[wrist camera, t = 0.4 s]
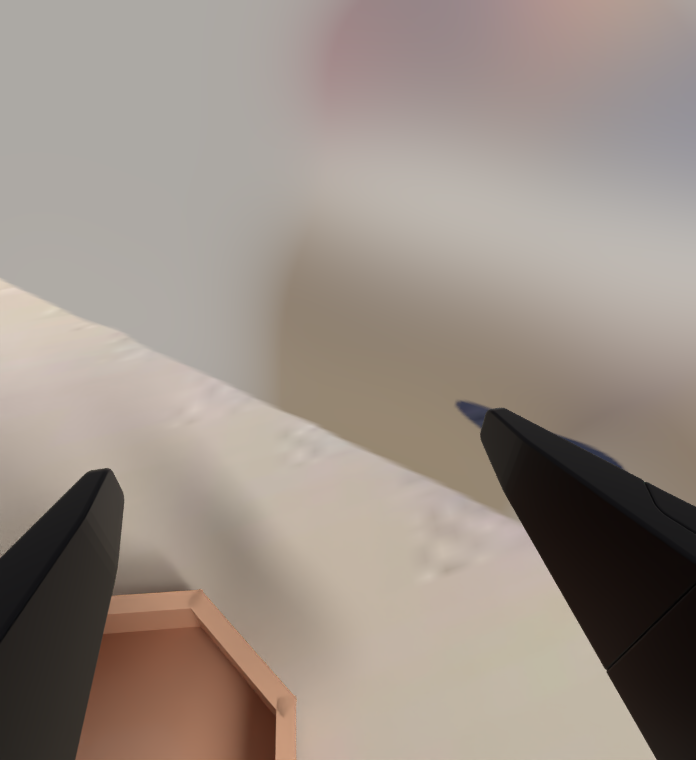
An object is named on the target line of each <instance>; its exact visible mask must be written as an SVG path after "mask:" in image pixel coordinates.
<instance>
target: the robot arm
mask: <svg viewBox="0 0 696 760" xmlns="http://www.w3.org/2000/svg"><path fill="white" fill-rule="evenodd" d="M480 437H481V441H482V443H483V446H484V448H485V450H486V453H487V455H488V457H489V460H490V462H491V464H492V467H493V469H494V471H495V473H496V476H497V478H498V480H499V482H500V485H501V487H502V489H503V491H504V493H505V495H506V497H507V498H508V500H509V502H510V504H511V505H512V507H513V509H514V510H515V512H516V514H517V516H518V517H519V519H520V521H521V523H522V525H523V526H524V528H525V530H526V532H527V533H528V535H529V537H530V539H531V540H532V542H533V544H534V546H535V547H536V549H537V551H538V553H539V554H540V556H541V558H542V560H543V561H544V563H545V565H546V567H547V568H548V570H549V572H550V574H551V575H552V577H553V579H554V581H555V582H556V584H557V586H558V588H559V589H560V591H561V593H562V595H563V596H564V598H565V600H566V602H567V603H568V605H569V607H570V609H571V610H572V612H573V614H574V616H575V617H576V619H577V621H578V623H579V624H580V626H581V628H582V630H583V631H584V633H585V635H586V637H587V638H588V640H589V642H590V644H591V645H592V647H593V649H594V651H595V652H596V654H597V656H598V657H599V659H600V661H601V663H602V664H603V666H604V668H605V669H606V670H607V674H608V675H609V677H610V679H611V681H612V682H613V684H614V686H615V688H616V689H617V691H618V693H619V695H620V696H621V698H622V700H623V702H624V703H625V705H626V707H627V709H628V710H629V712H630V714H631V716H632V717H633V719H634V721H635V723H636V724H637V726H638V728H639V730H640V731H641V733H642V735H643V737H644V738H645V740H646V742H647V744H648V745H649V747H650V749H651V751H652V752H653V754H654V756H655V757H656V759H657V760H696V507H695V506H693V505H691V504H689V503H687V502H685V501H683V500H681V499H679V498H677V497H675V496H673V495H671V494H669V493H667V492H665V491H663V490H661V489H659V488H657V487H656V486H654V485H652V484H650V483H648V482H644V481H643V480H642V479H640V478H638V477H636V476H634V475H632V474H630V473H629V472H627V471H625V470H623V469H621V468H619V467H617V466H615V465H613V464H611V463H609V462H607V461H605V460H604V459H602V458H600V457H598V456H596V455H594V454H592V453H590V452H588V451H586V450H584V449H582V448H580V447H578V446H577V445H575V444H573V443H571V442H569V441H567V440H565V439H563V438H561V437H559V436H557V435H555V434H553V433H552V432H550V431H548V430H546V429H544V428H542V427H540V426H538V425H536V424H534V423H532V422H530V421H528V420H527V419H525V418H523V417H521V416H519V415H517V414H515V413H513V412H511V411H509V410H507V409H505V408H495V409H490V410H488V411H487V412H486V415H485V418H484V422H483V425H482V429H481V433H480ZM123 509H124V495H123V491H122V489H121V487H120V485H119V483H118V481H117V479H116V477H115V475H114V473H113V471H112V470H111V469H109V468H104V469H98V470H91V471H89V472H87V473H86V474H85V475H84V476H83V477H82V478H81V479H80V480H79V481H77V482H76V483H75V484H74V485H73V486H72V487H71V488H70V489H69V490H68V491H67V492H66V493H65V494H64V495H63V496H62V497H61V498H60V499H59V500H58V501H57V502H56V503H55V504H54V505H53V506H52V507H51V508H50V509H49V510H48V511H47V512H46V513H45V514H44V515H43V516H42V517H41V518H40V519H39V520H38V521H37V522H36V523H35V524H34V525H33V526H32V527H31V528H30V529H29V530H28V531H27V532H26V533H25V534H24V535H23V536H22V537H21V538H20V539H19V540H18V541H17V542H16V543H15V544H14V545H13V546H12V547H11V548H10V549H9V550H8V551H7V552H6V553H5V554H4V555H3V556H2V557H1V558H0V760H75V759H76V754H77V750H78V745H79V741H80V736H81V732H82V727H83V723H84V718H85V714H86V709H87V705H88V700H89V696H90V691H91V687H92V682H93V678H94V673H95V669H96V664H97V660H98V655H99V651H100V646H101V642H102V637H103V633H104V628H105V624H106V619H107V615H108V610H109V606H110V601H111V597H112V592H113V588H114V583H115V578H116V573H117V568H118V560H119V550H120V540H121V529H122V519H123Z"/></svg>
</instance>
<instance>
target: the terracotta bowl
mask: <svg viewBox="0 0 696 760" xmlns="http://www.w3.org/2000/svg"><path fill="white" fill-rule="evenodd" d="M296 702H297V699H296V696H294V695H293V694H292V693H291V692H290V691H289V689H288V688H287V687H286V686H285V685H284V684H283V683H282V681H281V680H280V679H279V678H278V677H277V676H276V675H275V674H274V672H273V671H272V670H271V669H270V668H269V667H268V666H267V664H266V663H265V662H264V661H263V660H262V659H261V658H260V656H259V655H258V654H257V653H256V652H255V651H254V650H253V648H252V647H251V646H250V645H249V644H248V643H247V642H246V640H245V639H244V638H243V637H242V636H241V635H240V634H239V632H238V631H237V630H236V629H235V628H234V627H233V626H232V625H231V623H230V622H229V621H228V620H227V619H226V618H225V617H224V615H223V614H222V613H221V612H220V611H219V610H218V609H217V607H216V606H215V605H214V604H213V603H212V602H211V601H210V599H209V598H208V597H207V596H206V595H205V594H204V592H203V590H201V589H199V590H189V591H174V592H159V593H144V594H129V595H114V596H112V597H111V601H110V606H109V610H108V615H107V619H106V624H105V628H104V633H103V637H102V642H101V646H100V651H99V655H98V660H97V664H96V669H95V673H94V678H93V682H92V687H91V691H90V696H89V700H88V705H87V709H86V714H85V718H84V723H83V727H82V732H81V736H80V741H79V745H78V750H77V754H76V759H75V760H296Z"/></svg>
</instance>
